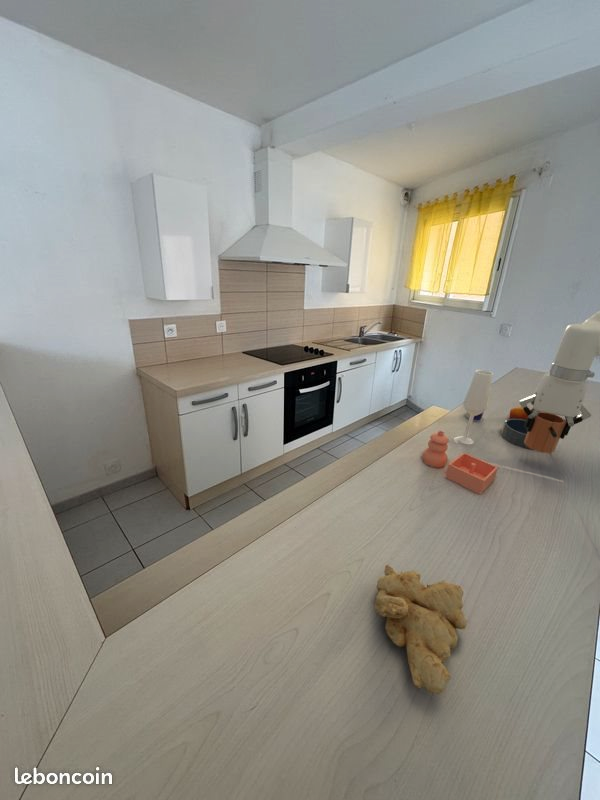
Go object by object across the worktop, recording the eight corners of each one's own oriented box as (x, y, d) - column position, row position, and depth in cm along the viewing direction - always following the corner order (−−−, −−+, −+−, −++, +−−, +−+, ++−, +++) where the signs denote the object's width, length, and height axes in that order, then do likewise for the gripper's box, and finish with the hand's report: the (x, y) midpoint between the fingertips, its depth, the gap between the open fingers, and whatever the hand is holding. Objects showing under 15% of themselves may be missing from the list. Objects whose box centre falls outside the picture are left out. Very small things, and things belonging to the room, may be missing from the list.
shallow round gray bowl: (542, 437, 111) (547, 424, 109) (550, 455, 100) (556, 441, 98) (498, 428, 116) (502, 415, 114) (502, 444, 105) (507, 431, 103)
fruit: (514, 425, 115) (516, 403, 116) (504, 427, 123) (506, 406, 124) (539, 428, 114) (541, 406, 115) (528, 430, 121) (529, 409, 122)
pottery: (493, 480, 87) (504, 449, 83) (479, 494, 81) (490, 461, 77) (431, 451, 99) (438, 423, 95) (415, 462, 93) (421, 432, 89)
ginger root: (400, 556, 61) (416, 532, 56) (476, 641, 51) (502, 620, 46) (339, 603, 52) (351, 580, 48) (415, 716, 43) (440, 700, 38)
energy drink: (462, 419, 121) (471, 389, 117) (468, 415, 125) (476, 386, 120) (477, 424, 118) (486, 394, 113) (482, 420, 121) (491, 391, 117)
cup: (550, 443, 94) (562, 415, 90) (560, 464, 84) (574, 433, 80) (522, 437, 97) (532, 409, 93) (529, 457, 86) (541, 426, 83)
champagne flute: (464, 448, 102) (484, 376, 92) (448, 437, 108) (467, 369, 98) (480, 445, 104) (502, 375, 94) (464, 435, 110) (484, 368, 100)
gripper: (604, 375, 83) (577, 435, 90) (526, 364, 90) (507, 420, 97) (616, 383, 77) (586, 447, 84) (531, 371, 84) (510, 431, 91)
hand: (544, 432), depth 90 cm, fingers closed on cup, 7 cm apart
